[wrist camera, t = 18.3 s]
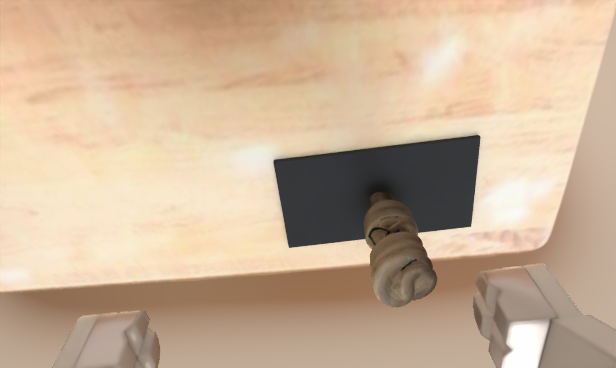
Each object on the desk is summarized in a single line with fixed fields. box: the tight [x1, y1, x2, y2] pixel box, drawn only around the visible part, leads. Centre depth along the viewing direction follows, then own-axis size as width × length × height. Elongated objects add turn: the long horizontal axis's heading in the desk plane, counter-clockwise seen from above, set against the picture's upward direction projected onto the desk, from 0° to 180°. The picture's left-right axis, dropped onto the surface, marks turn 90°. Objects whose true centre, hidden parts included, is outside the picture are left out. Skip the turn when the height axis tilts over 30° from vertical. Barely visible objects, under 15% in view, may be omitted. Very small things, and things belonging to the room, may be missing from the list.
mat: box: [274, 135, 480, 248], centre depth 50 cm, size 22×12×1 cm, turn 97°
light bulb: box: [364, 192, 437, 307], centre depth 44 cm, size 6×6×15 cm
